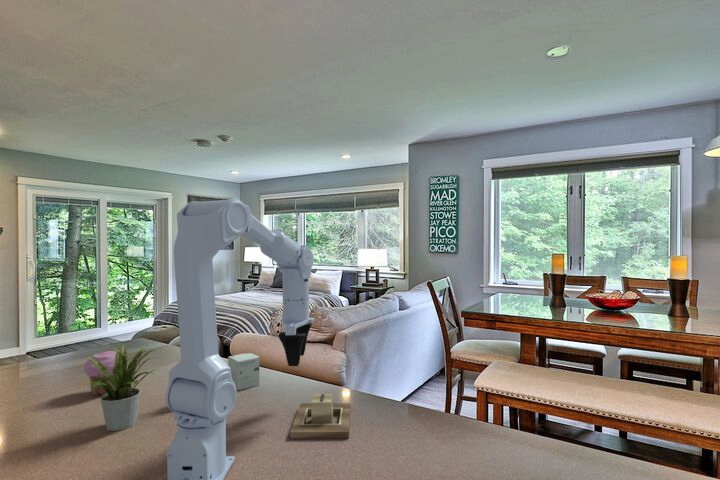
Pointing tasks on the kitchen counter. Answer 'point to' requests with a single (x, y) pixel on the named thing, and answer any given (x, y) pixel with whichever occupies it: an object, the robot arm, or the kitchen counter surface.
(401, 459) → the kitchen counter surface
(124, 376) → the house plant
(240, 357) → the skincare box
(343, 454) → the kitchen counter surface
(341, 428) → the plate
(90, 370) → the cupcake
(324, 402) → the beige block with stripe
